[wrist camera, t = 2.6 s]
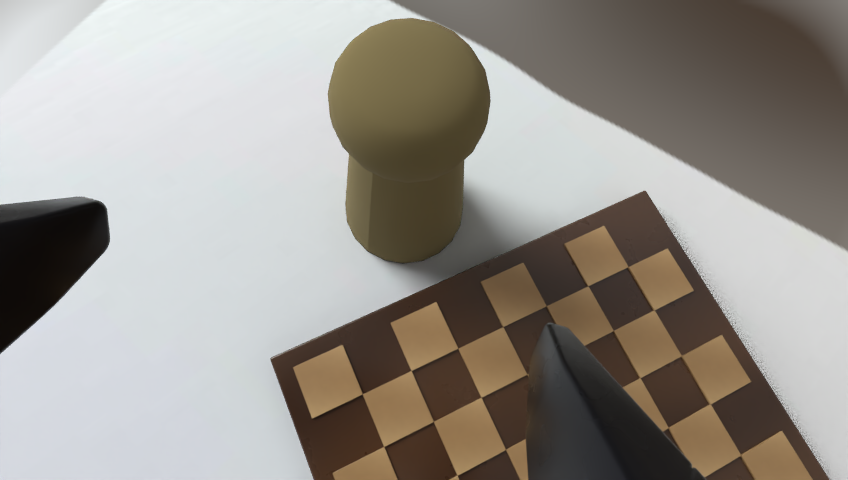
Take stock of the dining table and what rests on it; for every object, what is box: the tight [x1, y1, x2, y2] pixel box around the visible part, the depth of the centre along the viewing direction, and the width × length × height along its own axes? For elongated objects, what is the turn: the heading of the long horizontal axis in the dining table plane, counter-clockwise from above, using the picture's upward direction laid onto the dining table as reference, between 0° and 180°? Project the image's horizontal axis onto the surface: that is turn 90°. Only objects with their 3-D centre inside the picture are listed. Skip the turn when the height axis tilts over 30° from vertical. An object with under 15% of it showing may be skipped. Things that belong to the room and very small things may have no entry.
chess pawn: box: [328, 18, 490, 263], centre depth 19 cm, size 6×6×11 cm
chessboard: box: [271, 191, 829, 480], centre depth 20 cm, size 20×20×1 cm
